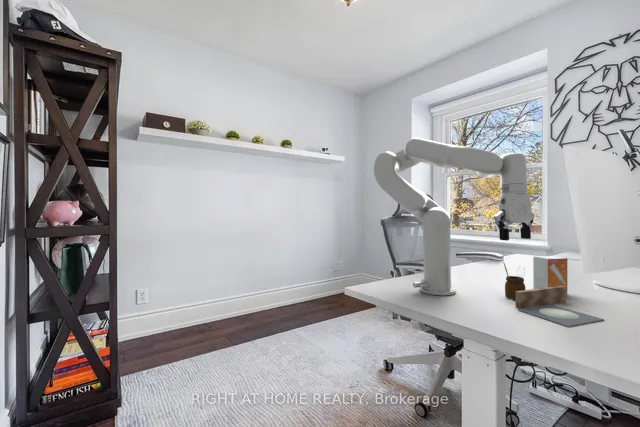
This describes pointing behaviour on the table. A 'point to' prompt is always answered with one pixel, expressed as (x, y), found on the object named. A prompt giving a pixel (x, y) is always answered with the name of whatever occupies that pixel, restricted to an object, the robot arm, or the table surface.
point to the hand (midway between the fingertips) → (515, 239)
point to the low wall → (540, 296)
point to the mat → (560, 315)
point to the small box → (549, 272)
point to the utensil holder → (513, 285)
